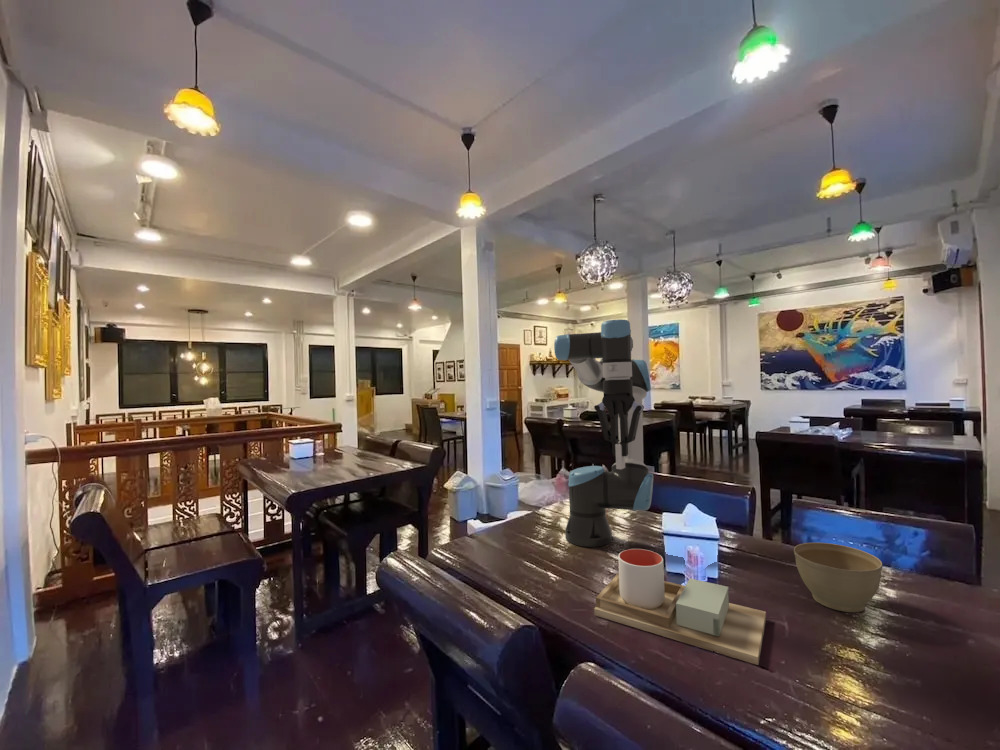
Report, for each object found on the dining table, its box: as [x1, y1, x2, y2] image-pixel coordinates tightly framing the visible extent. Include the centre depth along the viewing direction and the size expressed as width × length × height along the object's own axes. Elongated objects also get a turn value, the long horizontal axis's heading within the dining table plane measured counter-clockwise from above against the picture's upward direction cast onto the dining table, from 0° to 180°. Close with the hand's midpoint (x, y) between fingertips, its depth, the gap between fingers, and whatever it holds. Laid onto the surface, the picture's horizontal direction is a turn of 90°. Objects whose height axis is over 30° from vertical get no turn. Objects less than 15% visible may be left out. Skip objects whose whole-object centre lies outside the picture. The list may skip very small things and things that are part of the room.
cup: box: [617, 548, 665, 609], centre depth 102 cm, size 10×10×10 cm
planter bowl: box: [793, 542, 883, 613], centre depth 100 cm, size 16×16×11 cm
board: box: [593, 572, 767, 666], centre depth 97 cm, size 18×32×4 cm, turn 55°
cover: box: [676, 578, 730, 636], centre depth 94 cm, size 13×8×4 cm, turn 145°
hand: (620, 468), depth 115 cm, fingers closed
